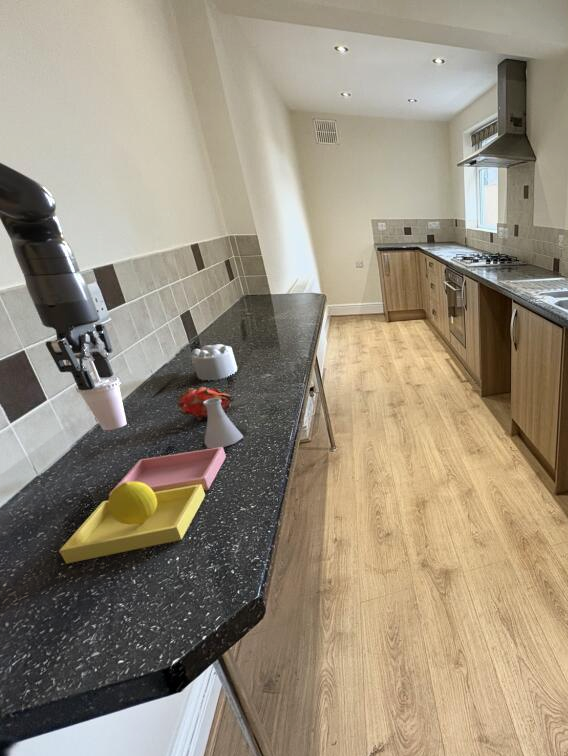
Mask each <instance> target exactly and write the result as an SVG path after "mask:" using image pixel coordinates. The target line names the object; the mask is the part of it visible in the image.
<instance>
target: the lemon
mask: <svg viewBox="0 0 568 756" xmlns="http://www.w3.org/2000/svg"><path fill="white" fill-rule="evenodd" d="M114 488H115V487H114ZM114 488H113V489H114ZM113 489H112V490H113ZM112 490H111V491H112ZM110 493H111V492H110ZM110 493H109V494H110ZM107 501H108V506H109V510H110V513H111V514H112V516H113V517H114V519H116V520H117V521H118V522H120V523H123V524H128V525H133V524H143V523H144V522H145V521H146V520H147V519H149V518H150V517H151V516H152V515H153V513H154V512H155V510H156V507H157V499H156V496H155V493H154V492H153V490H152V489H151V488H150V487H149V486H147V485H146V484H144V483H141V482H123V483H122V484H121V485H119V486H118V487H117V488H115V489H114V490H113V491H112V493H111V494H110V496H109V495H108V499H107Z"/></svg>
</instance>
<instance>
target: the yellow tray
mask: <svg viewBox="0 0 568 756" xmlns="http://www.w3.org/2000/svg"><path fill="white" fill-rule="evenodd" d="M154 493H155V496H156V499H157V507H156V510H155V512H154V513H153V515H152V516H151V517H150V518H149V519H147V520H146V521H145V522H144V523H143V524H133V525H128V524H123V523H120V522H118V521H117V520H116V519H114V517H113V516H112V514H111V513H110V510H109V506H108V500H103V501H102V502H101V503H100V504H99V505H98V506H97V507H96V509H94V510H93V511H92V512H91V514H90V515H89V516H88V517H87V518H86V519H85V521H84V522H83V523H82V524H81V525H80V526H79V527H78V529H77V530H76V531H75V532H74V533H73V534H72V535H71V537H70V538H69V539H68V540H67V541H66V542H65V544H63V546H62V547H61V548H60V549H59V551H58V552H59V553H60V555H61V557H62V558H63V561H64V562H65V564H66V565H67V564H71V563H75V562H81V561H86V560H90V559H96V558H101V557H106V556H111V555H115V554H121V553H125V552H129V551H130V552H131V551H133V550H134V551H135V550H139V549H145V548H148V547H153V546H157V545H158V546H159V545H163V544H168V543H171V542H177V541H182V540H183V538H184V536H185V535H186V533H187V531H188V529H189V527H190V525H191V523H192V521H193V519H194V517H195V515H196V514H197V512H198V510H199V508H200V506H201V504H202V503H203V501H204V499H205V497H206V493H205V490H203V487H202V484H199V485H193V486H187V487H181V488H176V489H170V490H164V491H159V492H154Z"/></svg>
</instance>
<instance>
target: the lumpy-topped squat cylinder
mask: <svg viewBox="0 0 568 756" xmlns="http://www.w3.org/2000/svg"><path fill="white" fill-rule="evenodd" d="M190 357H191V361H192V364H193V367H194V370H195V372H196V373H195V374H196V376H197V379H198V378H199V379H198V380H200V379H201V380H200V381H204V380H208V381H207V382H211V381H210V380H214V381H218V379H219V380H223V379H226V378H229V377H231V376H233V375H235V374H236V373H237V371H238V365H237V362H236V358H235V355H234V352H233V348H232V346H230V345H225V344H222V343H219V344H218V343H217V344H209V345H203V346H202V347H201V348H194V349H193V350H192V351H191V356H190ZM235 372H236V373H235ZM232 374H233V375H232ZM230 375H231V376H230ZM228 376H229V377H228ZM225 377H226V378H225ZM222 378H223V379H222Z"/></svg>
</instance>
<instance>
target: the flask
mask: <svg viewBox="0 0 568 756" xmlns="http://www.w3.org/2000/svg"><path fill="white" fill-rule="evenodd" d="M221 402H222V401H221V399H220V398H212V399H208V400H206V401H204V402H203V404H204V405H205V406H206V408H207V414H208V417H207V421H206V430H205V435H204V436H205V437H204V445H205V446H206V447H207V448H206V449H211V448H218V447H223V448H225V447H228V446H231V445H235V444H236V443H238V442H239V441H240V440H242V439H244V435H243V434H242V433H241V431H240V430H239V429H238V428H237V427H236V425H235V424H234V423H233V422H232V421H231V419H230V418H229V417H228V416H227V414H226V412H225V410H223V409H222V406H221Z"/></svg>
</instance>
